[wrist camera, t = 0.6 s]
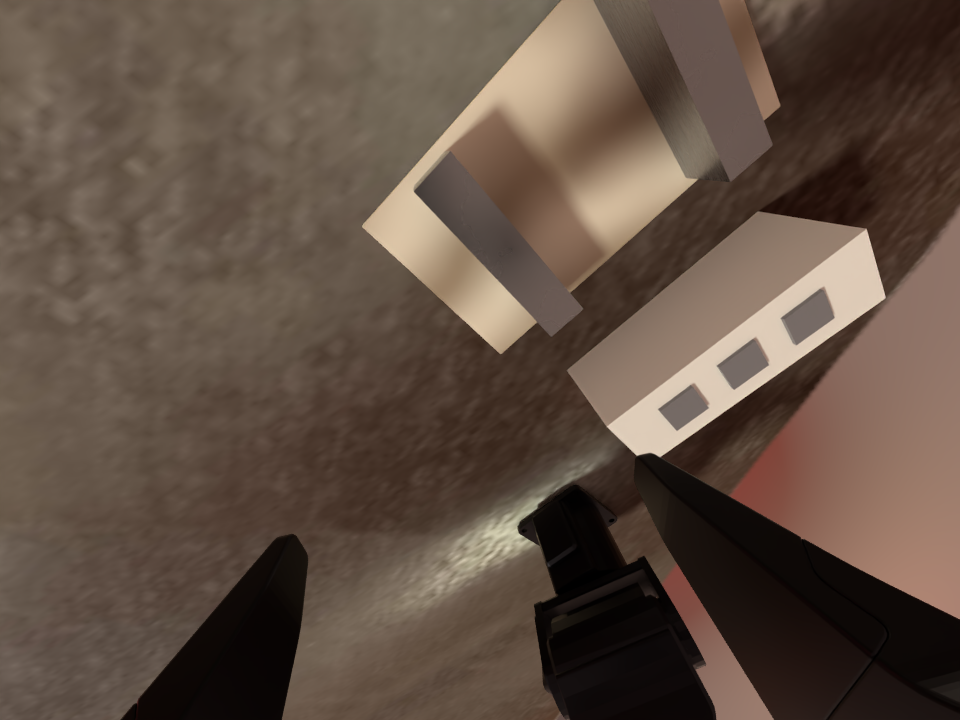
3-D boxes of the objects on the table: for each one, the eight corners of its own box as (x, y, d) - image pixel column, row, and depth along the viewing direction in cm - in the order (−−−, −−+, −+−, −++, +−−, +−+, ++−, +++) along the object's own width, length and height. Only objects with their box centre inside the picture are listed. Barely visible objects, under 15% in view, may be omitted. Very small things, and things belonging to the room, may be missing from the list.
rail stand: (763, 108, 18) (844, 97, 15) (497, 346, 22) (512, 381, 19) (675, -130, 14) (762, -225, 10) (364, 222, 18) (352, 238, 15)
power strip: (779, 266, 23) (890, 299, 18) (601, 405, 26) (649, 468, 21) (755, 210, 21) (871, 229, 16) (565, 368, 24) (608, 428, 19)
